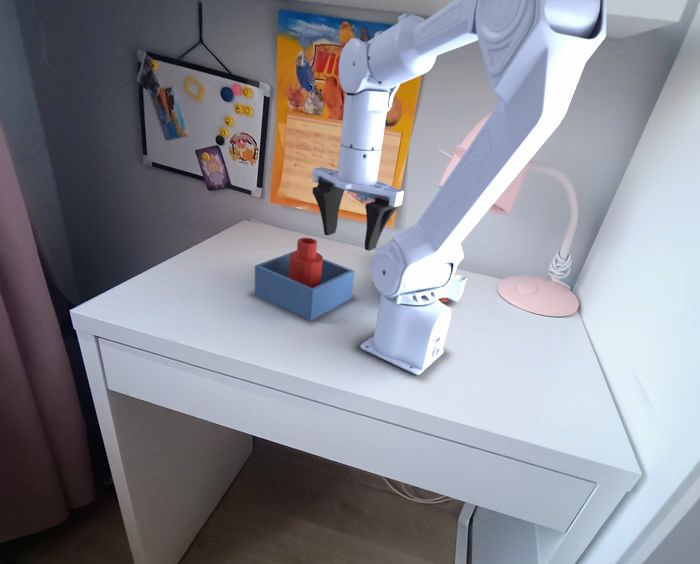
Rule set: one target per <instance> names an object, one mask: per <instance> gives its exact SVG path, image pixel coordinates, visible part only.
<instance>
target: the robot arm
mask: <svg viewBox="0 0 700 564" xmlns="http://www.w3.org/2000/svg"><path fill="white" fill-rule="evenodd" d="M607 3H608V2H607V0H453V1H451V2H449V3H448V4H447V5H445V6H444V7H443V8H441V9H439V10H437V12H435V13H434V14H432V15H431V16H429V17H428V18H427V19H425V18H423V17H422V16H419V15H415V14H411V13H407V12H405V13H402V14H401V15H399V16H398V18H397V23H395V24H394V25H392V26H391V27H389V28H387V29H385V30H384V31H383V30H379V31H377V32H375V33H374V37H372V38H371V39H369V40H367V41H363V40H361V39H360V38H354V37H353V38H350V39H349V41H348V42H346V43H345V45H344V46H343V48H342V49H341V52H340V56H339V60H338V69H337V70H338V79H339V84H340V87H341V88H342V90H343V91H344V92H345V93H344V103H343V112H342V121H341V122H342V123H341V124H342V125H341V131H340V132H341V133H340V141H339V142H340V143H339V155H338V164H337V169H331V168H327V167H323V166H318V167H313V169H312V182H313V183H315V184H316V186H315V187H314V186H313V188H312V195H313V196H314V198H315V200H316V204H317V206H318V209H319V212H320V216H321V222H322V227H323V234H324V235H325V236H327V237H328V236H331V235H333V234H336V231H337V227H338V220H339V211H340V208H341V207H340V206H341V202H342V199H343V196H344V193H345V191H346V192H350V193H353V194H356V195H359V196H362V197H365V198H369V199H372V200H374V201H372V202H367V203H366V204H365V206H364V207H365V215H366V232H365V238H364V250H365V251H371V250H372V251H373V250H374V249H376V247H377V244H378V242H379V239H380V238H381V235H382V233H383V231H384V229H385V228H386V227H385V226H386V225H387V224H388V222H389V220H390V218H392V216H393V214H395V212H396V211H397V209H398V207H399V206H402V205H403V198H404V193H405V191H404V190H402V189H399V188H397V187H394V186H391V185H389V184H387V183H385V182H383V181H381V180H378V175H379V171H380V170H379V169H380V162H381V156H382V149H383V148H382V147H383V141H384V133H385V127H386V119H387V113H388V112H389V111H390V110H391V108H392V107H393V100H394V97H395V94H396V92H397V91H398V89H399V87H400V85H401V84H404V83H406V82H408V81H410V80H414V79H415V78H418V77H419V76H422V75H425V74H426V73H428V72H429V71H431V69H432V68H433V67H434V64H435V62H436V59H437V56H439V55H442V54H445V53H447V52H450V51H453V50H455V49H458V48H461V47H463V46H466V45H468V44H469V45H470V44H472V43H474V42H477V41H478V44H479V48H480V52H481V55H482V59H483V63H484V67H485V70H486V73H487V77H488V81H489V85H490V89H491V90H492V91H493V92H494V93H495V95H496V106H495V108H494V109H493V111H492V112H491V113H490V115H489V116H488V118H487V119H486V121H485V122H484V123H483V125H482V126H481V128H480V129H479V131H478V132H477V134H476V136H475V137H474V138H473V140H472V142H471V143H470V144H469V146H468V147H467V148H466V150H465V151H464V153H463V154H462V156H461V158H460V159H459V160H458V162H457V164H456V165H455V166H454V167H453V169H452V171H451V172H450V174H449V175H448V176H447V178H446V179H445V181H444V183H443V184H442V185H441V187H440V188H439V190H438V191H437V193H436V194H435V196H434V197H433V199H432V200H431V202H430V203H429V204H428V206H427V208H426V209H425V210H424V212H423V213H422V214H421V216H420V217H419V219H418V221H417V222H416V223H414V224H413V225H411V226H410V227H408V228H406V229H404V230H402V231H400V232H398V233H396V234H395V235H393V236H392V237H391V239H390V240H389V242H388V243H387V244H386V245H384V246H381V247H379V248H378V249H377V250H376V252H375V253H374V255H373V258H372V261H371V269H370V270H371V271H370V272H371V278H372V282H373V284H374V285H375V287H376V290H377V291H378V292H379V293H380V299H379V305H378V311H377V316H376V321H375V328H374V333H373V334H374V335H373V336H372V337H369V338H368V339H367V340H365V341H364V342H363V343H361V344H360V346H359V347H360V349H361V350H363V351H365V352H367V353H369V354H372V355H373V356H375V357H377V358H380V359H382V360H384V361H387V362H388V363H391V364H393V365H395V366H397V367H399V368H401V369H403V370H405V371H407V372H409V373H411V374H413V375H416V376H419V375H421V374H422V373H423V372H424V371H425V370H426V369H427V368H428V367H429V366H431V365H432V363H434V362H435V361H436V360H438V358H439V357H441V356H442V354H444V351H445V350H444V345H445V341H446V337H447V334H448V329H449V326H450V322H451V317H452V308H450V307H449V306H447V305H446V304H444V303H443V302H440V301H439V300H438V299H437V298H436V297H437V296H440V294H441V290H442V287H445V286H447V285H449V284H450V282H451V281H452V280H453V277H454V275H455V273H456V270H457V268H458V265H459V264H460V263H461V261H462V260H464V257H465V255H464V251H463V248H462V245H461V243H462V242H463V241H464V240H465V238H466V237H467V236H468V235H469V234H470V232H471V231H472V230H473V229H474V227H475V226H476V225H477V224H478V223H479V222H480V221H481V219H482V218H483V217H484V216H485V214H486V213H487V212H488V210H489V209H490V208H491V207H492V206H493V205H494V203H495V202H496V201H498V199H499V197H500V196H501V195H502V194H503V192H504V191H505V190H506V189H507V188H508V186H510V184H511V183H512V182H513V180H515V178H516V177H517V176H518V174H519V173H521V171H522V170H523V168H524V167H525V166H526V165H527V164H528V162H529V161H530V160H531V159H532V158H533V156H534V155H535V154H536V153H537V152H538V151H539V150H540V148H541V147H542V146H543V144H544V143H545V142H546V141H547V140H548V138H549V137H551V135H552V134H553V132H554V131H555V130H556V129H557V127H559V125H560V124H561V122H562V120H563V119H564V118H565V116H566V113H567V112H568V109H569V105H570V103H571V100H572V98H573V95H574V93H575V90H576V88H577V85H578V83H579V81H580V78H581V75H582V73H583V70H584V68H585V65H586V63H587V61H588V60H589V59H590V57H591V56H592V55H593V54H594V53H595V51H596V50H597V49H598V47H599V46H600V45H601V44H602V42H603V41H604V40H605V38H606V37H607V5H608V4H607Z"/></svg>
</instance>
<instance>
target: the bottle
mask: <svg viewBox="0 0 700 564" xmlns="http://www.w3.org/2000/svg"><path fill="white" fill-rule="evenodd" d="M296 248H297V249H296V250H297V251H296V250H293V251H294V252H293V251H291V252H292V253H291V252H290V253H291V254H290V262H289V278H290V279H292V280H294V281H297V282H299V283H301V284H304V285H306V286H308V287H310V288H314V287H316V286H318V285H320V284H321V274H322V263H323V259H324V258H323V255H321V254H320V253H319V252H317V249H318V241H317V240H316V239H314V238H311V237H301V238H298V239H297V245H296Z"/></svg>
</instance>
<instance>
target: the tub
mask: <svg viewBox="0 0 700 564" xmlns="http://www.w3.org/2000/svg"><path fill="white" fill-rule="evenodd" d="M294 251H297V249H295V250H293V251H291V252H288V253H286V254H282V255H279V256H277V257H275V258H272V259H269V260H266V261H264V262H261V263H257V264H256V265H254V295H255V296H257V297H259V298H261V299H262V300H263V299H264V300H265V301H268V302H270V303H272V304H273V305H276V306H278V307H279V308H282V309H285V310H287V311H288V312H290V313H293V314H295V315H297V316H299V317H302V318H304V319H306V320H308V321H310V322H311V321H313V320H315V319H317V318H318V317H320V316H322V315H325V314H326V313H327V312H330V311H332V310H333V309H335V308H337V307H339V306H340V305H342V304H344V303H346V302H348V301H349V300H352V294H353V293H352V292H353V287H354V279H355V278H354V277H355V270H353V269H351V268H348V267H346V266H343V265H340V264H338V263H335V262H333V261H330V260H328V259H326V258H323V263H322V274H321V284H320V285H318V286H316V287H314V288H310V287H308V286H306V285H304V284H301V283H299V282H297V281H294V280H292V279H290V278H289V262H290V254H291V253H292V252H294Z"/></svg>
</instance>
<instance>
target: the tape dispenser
mask: <svg viewBox="0 0 700 564" xmlns="http://www.w3.org/2000/svg"><path fill="white" fill-rule="evenodd" d="M466 281H468V278H467V277H466V276H462V275H460V274H458V273H456V272H455V275H454V277H453V280H452V281H451V282H450V284H449V285H447V286H445V287H442V290H441V294H440V296H437V297H436V298H437V299H438V300H439V301H440V302H441V303H448V302H449V299H450V300H452V301H454V302H458V301H460V299H461V297H462V296H463V293H464V288H465V284H466Z"/></svg>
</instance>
